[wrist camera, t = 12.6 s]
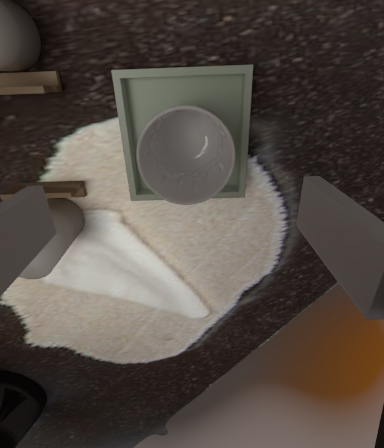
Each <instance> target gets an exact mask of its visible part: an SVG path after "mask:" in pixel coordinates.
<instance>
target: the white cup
mask: <svg viewBox="0 0 384 448" xmlns="http://www.w3.org/2000/svg"><path fill="white" fill-rule="evenodd" d="M136 158H137V165H138V169H139V172H140V174H141V177H142V179H143V180H144V182H145V183H146V185H147V186H148V187H149V188H150V189H151V190H152V191H153V192H154V193H155V194H156V195H158V196H159V197H161V198H162V199H164V200H167V201H169V202H172V203H176V204H183V205H190V204H197V203H201V202H204V201H206V200H208V199H210V198H212V197H213V196H215V195H216V194H217V193H219V192H220V191H221V190H222V189H223V188H224V186H225V185H226V184H227V182H228V181H229V179H230V177H231V174H232V172H233V169H234V164H235V147H234V143H233V140H232V137H231V135H230V133H229V131H228V129H227V128H226V126H225V125H224V124H223V122H222V121H221V120H220V119H219V118H217V117H216V116H215V115H213V114H212V113H211V112H209V111H208V110H206V109H205V108H202V107H200V106H197V105H193V104H180V105H176V106H173V107H171V108H168V109H166V110H164V111H162V112H160V113H159V114H157V115H156V116H155V117H153V118H152V119H151V120H150V121H149V122H148V123H147V125H146V126H145V128H144V129H143V131H142V133H141V135H140V137H139V140H138V144H137V151H136Z"/></svg>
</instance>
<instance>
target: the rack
mask: <svg viewBox="0 0 384 448" xmlns="http://www.w3.org/2000/svg"><path fill="white" fill-rule="evenodd" d="M52 92H63V91H62V86H61V82H60V78H59V73H58V71H46V72H20V73H0V95H7V94H33V93H52ZM39 185H43V189H44V192H45V195H46V198H72V197H85V196H86V190H85V186H84V182H83V181H65V182H33V183H19V184H17V185H15V186H14V187H12V188H10V189H9V190H7V191H5V192H4V193H2V194H0V197H1V200H6V199H7V198H9V197H11V196H12V195H14V194H15V193H17V192H18V191H20V190H22V189H23V188H25V187H26V186H39Z"/></svg>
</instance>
